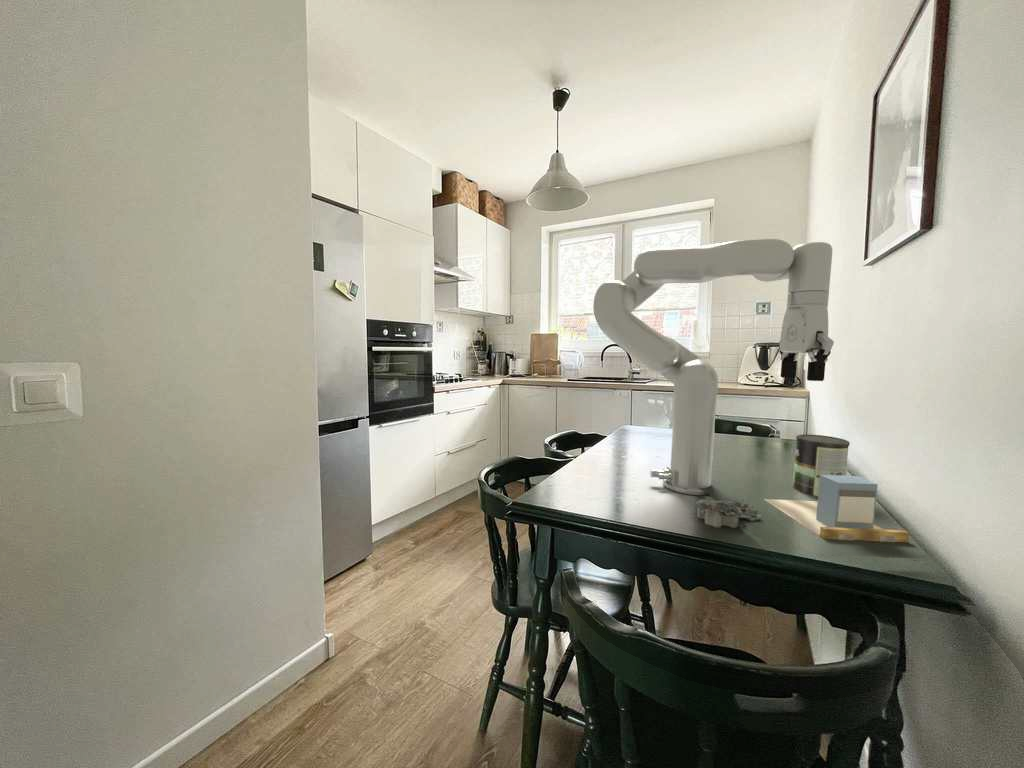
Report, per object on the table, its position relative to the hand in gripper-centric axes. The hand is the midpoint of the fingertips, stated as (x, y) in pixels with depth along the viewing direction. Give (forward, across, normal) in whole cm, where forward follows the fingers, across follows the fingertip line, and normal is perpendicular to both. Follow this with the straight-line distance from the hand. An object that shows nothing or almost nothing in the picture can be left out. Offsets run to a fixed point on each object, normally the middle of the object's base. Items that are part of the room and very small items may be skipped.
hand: (801, 379), depth 96 cm
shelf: (+28, +13, -1) cm, 31 cm away
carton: (+27, +17, 0) cm, 32 cm away
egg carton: (+29, +12, -20) cm, 37 cm away
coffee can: (+28, -5, +9) cm, 30 cm away
